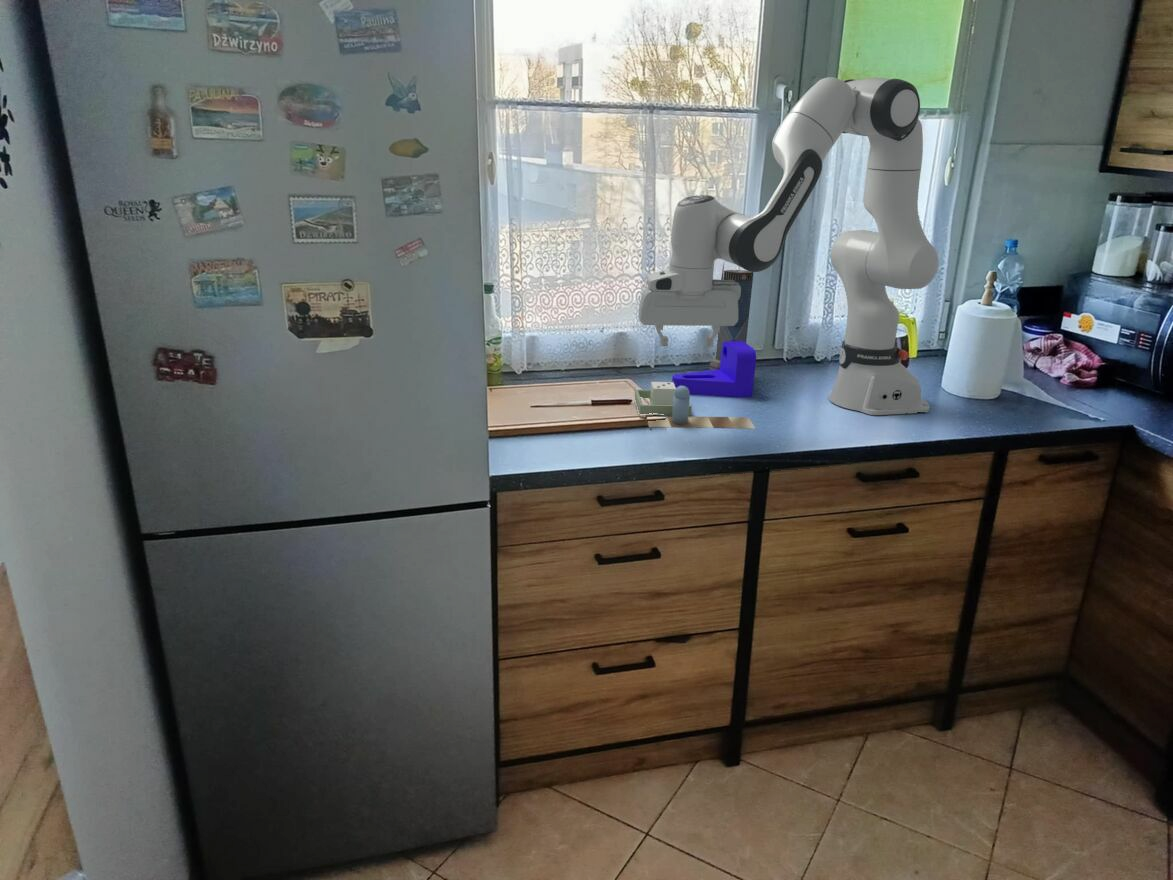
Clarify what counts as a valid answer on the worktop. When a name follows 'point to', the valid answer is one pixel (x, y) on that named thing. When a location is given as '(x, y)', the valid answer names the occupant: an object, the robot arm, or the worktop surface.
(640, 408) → the dice tray
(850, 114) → the robot arm
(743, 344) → the bracket
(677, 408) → the pawn
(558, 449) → the worktop surface
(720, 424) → the track
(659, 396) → the die
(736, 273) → the building
